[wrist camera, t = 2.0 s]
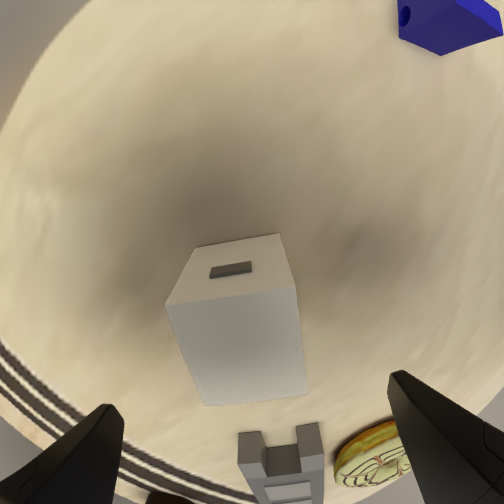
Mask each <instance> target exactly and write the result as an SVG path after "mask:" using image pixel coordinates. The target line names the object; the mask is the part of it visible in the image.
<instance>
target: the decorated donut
mask: <svg viewBox="0 0 504 504" xmlns="http://www.w3.org/2000/svg"><path fill="white" fill-rule="evenodd" d="M411 470H412V467H411V465H410V462H409V459H408V457H407V454H406V452H405V450H404V447H403V445H402V442H401V440H400V437H399V434H398V431H397V427H396V423H395V420H394V421H388V422H384V423H382V424H379V425H378V426H376V427H373V428H370V429H368V430H366V431H364V432H362V433H360V434H359V435H357V436H356V437H355V438H354V439H352V440H351V441H350V442H349V443H347V444H346V445H345V446H344V447H343V448H342V450H341V451H340V452H339V454H338V456H337V459H336V463H335V465H334V478H335V483H337V484H339V485H342V486H345V487H369V486H375V485H379V484H381V483H384V482H387V481H389V480H393V479H395V478H398V477H400V476H402V475H404V474H406V473H408V472H409V471H411Z"/></svg>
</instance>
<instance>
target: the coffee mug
mask: <svg viewBox="0 0 504 504" xmlns="http://www.w3.org/2000/svg"><path fill="white" fill-rule="evenodd" d="M145 504H193V503H192V502H191V501H190V500H188V499H185V498H183V497H180V496H176V495H173V494H168V493H161V492H153V493H150V494H149V495H148V498H147V500H146V503H145Z"/></svg>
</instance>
